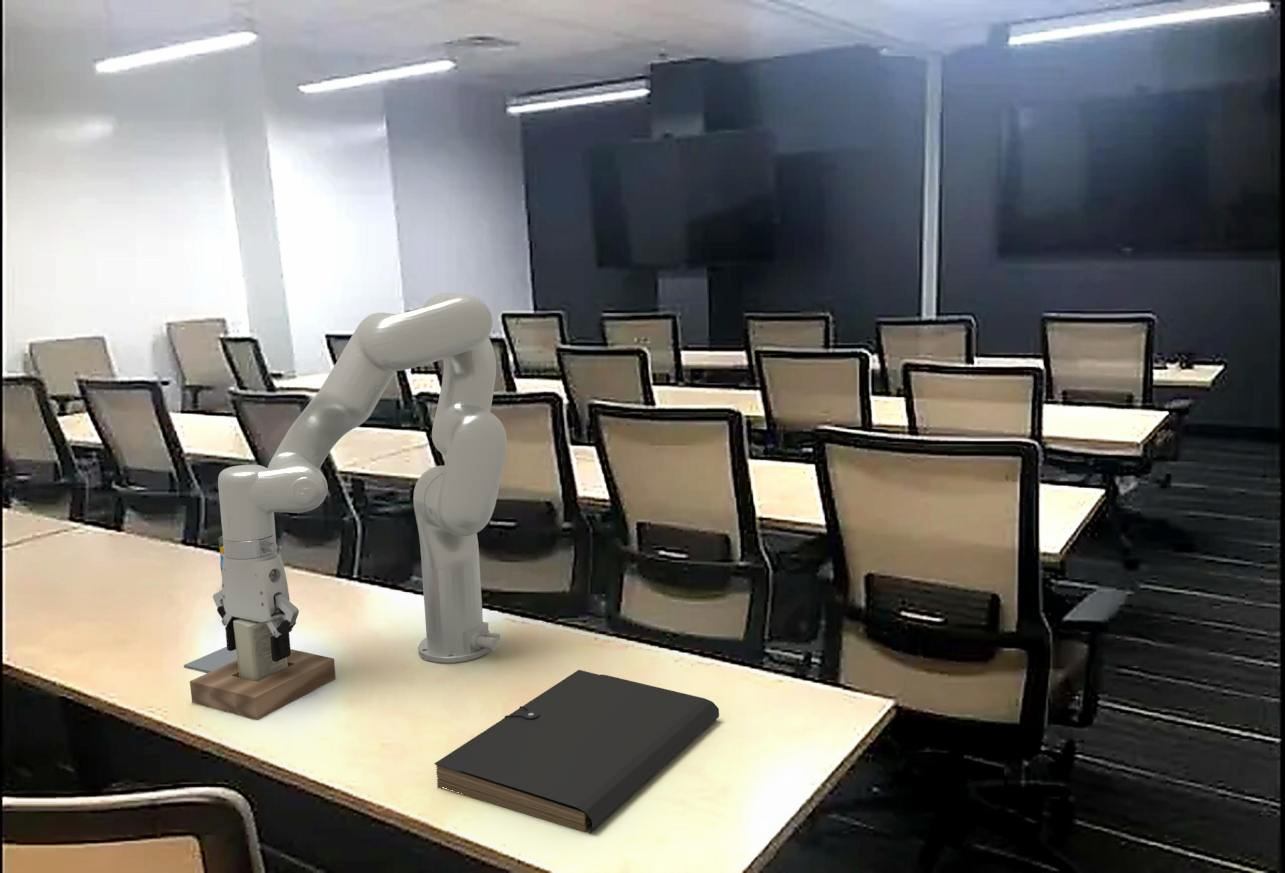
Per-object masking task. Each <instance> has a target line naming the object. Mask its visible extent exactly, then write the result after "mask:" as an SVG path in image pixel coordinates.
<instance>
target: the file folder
mask: <svg viewBox="0 0 1285 873" xmlns="http://www.w3.org/2000/svg"><path fill="white" fill-rule="evenodd" d="M503 717H504V718H502V719H501V720H499V721H498V722H496V723H494V724H493V725H491V726H490V727H488V728H487V729H484V731H482V732H480V733H479V734H478V735H476V736H474V737H472V739H470V740H468V741H467V742H465V743H463V744H462V745H460V746H459V747H457V748H455V749H454V750H452V751H451V752H450V753H448V754H446V755H445V756H444V757H442V758H440V759H439V760H437V761H436V762H435V763H433V765H435V768H436V769H435V770H436V782H437V783H436V787H437V786H438V787H437V788H439V787H441V788H440V789H443V788H442V787H444V788H447V789H449V790H453V791H455V792H459V794H458V795H462V794H463V796H464V797H465V796H466V797H469V798H471V799H474V800H478V801H481V802H484V803H487V804H492V805H496V804H497V805H496V806H500V807H502V808H507V809H510V810H512V811H516V812H519V813H522V814H525V815H529V816H532V817H536V818H538V819H542V820H545V821H548V822H550V823H551V822H552V823H554V824H558V825H562V826H564V827H567V828H572V829H575V830H578V831H581V832H583V833H586V831H587V826H588V825H589V824H591V826H592V829H591V830H590V831H589V833H588V834H589V835H590V834H591V833H592V832H594V830H595V829H596V828H597V827H599V826H600V825H601V824H602V823H604V821H605V820H606V819H608V818H609V817H610V816H611V815H612V814H613V813H614V812H615V811H616V810H618V809H619V808H620V807H621V806H622V805H623V804H624V803H626V801H628V800H629V799H630V798H631V797H632V796H633V795H634V794H636V793H637V792H638V791H639V790H640V789H641V788H642V787H643V786H644V785H645V784H647V783H648V782H649V781H650V780H651V779H652V778H653V777H654V776H655V775H657V773H659V772H660V771H661V770H662V769H663V768H664V767H665V766H667V764H669V763H670V762H671V761H672V760H673V759H674V758H675V757H677V756H678V755H679V754H680V753H681V752H682V751H684V750H685V748H687V747H688V746H689V745H690V744H691V743H692V742H694V740H696V739H697V738H698V737H699V736H700V735H701V734H702V733H703V732H705V731H706V729H708V728H709V727H710V726H711V725H712V724H713V723H714V722H716V721H717V720H718V719H719V717H720V709H719V707H718V706H717V705H716V704H715V702H713V701H712V700H709V699H707V698H705V697H699V696H696V695H692V694H689V693H688V694H687V693H683V692H680V691H675V690H671V689H666V688H662V687H658V686H654V685H649V684H646V683H641V682H637V681H633V680H629V679H624V678H620V677H617V676H616V677H615V676H611V675H607V674H598V673H594V672H590V671H586V670H583V669H577V670H576V671H574V672H572V673H571V674H569V675H568V676H567V677H565V678H564V679H562V680H561V681H559V682H558V683H556V684H554V685H553V686H551V687H550V688H549V689H547V690H545V691H544V692H542V693H540V694H539V695H537V696H536V697H534V698H533V699H532V700H530V701H528V702H527V703H526V704H525V703H524V705H521V706H519V708H517V709H516V710H514V711H513V712H511V713H510V714H508V715H504V716H503ZM449 790H448V791H449ZM455 792H454V793H455ZM460 793H462V794H460Z"/></svg>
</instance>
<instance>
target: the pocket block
mask: <svg viewBox="0 0 1285 873" xmlns="http://www.w3.org/2000/svg"><path fill="white" fill-rule="evenodd" d="M290 650H291V654H290V656H289V657H287V663H288V667H287V668H285V669H283V670H281V671H279V672H277V673H274V674H272V675H270V676H268V677H266V678H264V679H262V680H260V681H258V682H256V681H252V680H247V679H243V678H239V669H238V660H236V661H234V662H231V663H229V664H227V665H225V666H222V667H220V668H218V669H216V670H214V671H211V672H209V673H204V674H202V675H201V676H198V677H196V678H194V679H191V680H189V687H190V695H191V703H192V704H195V705H199V706H202V707H203V706H204V707H207V708H211V709H214V710H219V711H222V712H225V713H226V712H227V713H230V714H234V715H237V716H241V717H245V718H249V719H253V720H256V721H258V720H259V719H262V718H264V717H265V716H267V715H269V714H271V713H273V712H275V711H277V710H279V709H282V708H283V707H285V706H287V705H289V704H291V703H292V702H294V701H296V700H298V699H300V698H302V697H304V696H306V695H308V694H310V693H311V692H314V691H316V690H317V689H320V688H322V687H323V686H325V685H328V684H329V683H332V682H333V681H335V680H336V679H337V676H336V665H335V658H334V657H333V658H332V657H329V656H326V655H325V656H324V655H320V654H315V653H310V652H306V651H301V650H296V649H292V648H290Z"/></svg>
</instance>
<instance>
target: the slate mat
mask: <svg viewBox="0 0 1285 873" xmlns="http://www.w3.org/2000/svg"><path fill="white" fill-rule="evenodd" d="M236 660H237V651H236V649H235V650H233V651H228V650H227V646H224V647H222V648H221V649H218V650H215V651H213V652H211V653H208V654H206V655H204V656H202V657H199V658H197V659H195V660H192V661H190V662H188V663H185V664H183V668H185V669H189V668H190V669H189V670H193V669H194V671H197V670H198V671H199V672H201V673H202V672H203V673H205V674H207V673H209V672H211V671H214V670H216V669H218V668H220V667H222V666H225V665H227V664H229V663H231V662H234V661H236ZM198 671H197V672H198Z"/></svg>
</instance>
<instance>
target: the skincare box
mask: <svg viewBox="0 0 1285 873" xmlns="http://www.w3.org/2000/svg"><path fill="white" fill-rule="evenodd" d="M274 615H275V614H271V616H274ZM275 623H276V624H277V626H278V627H279V625H280V622H279V621H278V620H277V621H275ZM233 625H234V633H235V642H236V651H237V660H238V669H239V678H243V679H247V680H252V681H256V682H258V681H260V680H262V679H264V678H266V677H268V676H270V675H272V674H274V673H277V672H279V671H281V670H283V669H285V668H287V667H288V663H287V657H286V658H284V659H282V660H280V661H277V662H275V661H273V660H272V653H271V640H270V638H271V637H272V636H274V635H273V634H272V632H271V630H270V629H269V627H268V626H267V624H266V623H259V622H255V621H250V620H245V619H238V620H235V621H233Z"/></svg>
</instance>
